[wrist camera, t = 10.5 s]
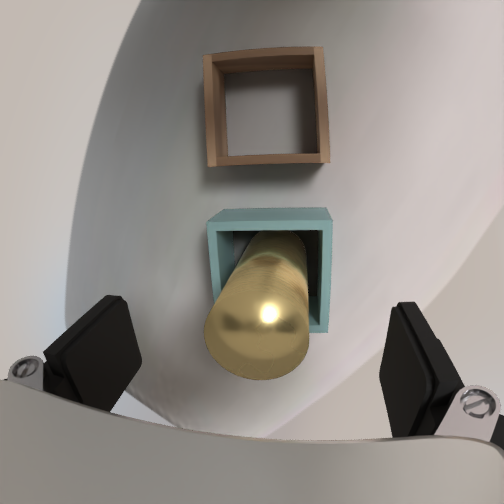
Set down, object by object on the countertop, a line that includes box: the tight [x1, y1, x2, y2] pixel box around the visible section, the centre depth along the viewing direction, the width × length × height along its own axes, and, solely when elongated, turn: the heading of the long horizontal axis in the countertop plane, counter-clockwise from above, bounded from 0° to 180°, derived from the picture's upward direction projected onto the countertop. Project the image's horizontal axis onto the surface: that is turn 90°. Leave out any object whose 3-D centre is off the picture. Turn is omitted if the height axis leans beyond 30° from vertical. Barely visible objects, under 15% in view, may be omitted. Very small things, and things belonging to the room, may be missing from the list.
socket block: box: [203, 47, 330, 167], centre depth 17 cm, size 7×7×3 cm
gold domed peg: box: [204, 230, 309, 380], centre depth 16 cm, size 4×4×10 cm
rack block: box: [206, 208, 332, 333], centre depth 19 cm, size 7×7×4 cm
